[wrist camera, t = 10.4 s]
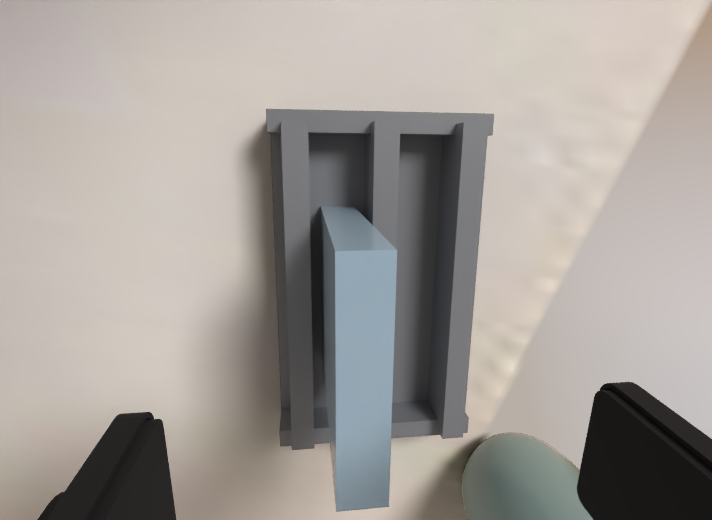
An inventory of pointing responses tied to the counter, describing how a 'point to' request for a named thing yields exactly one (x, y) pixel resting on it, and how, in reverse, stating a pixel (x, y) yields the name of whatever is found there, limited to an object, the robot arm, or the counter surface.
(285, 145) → the rack
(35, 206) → the counter surface
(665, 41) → the counter surface
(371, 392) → the light blue upright panel
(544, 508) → the cup
